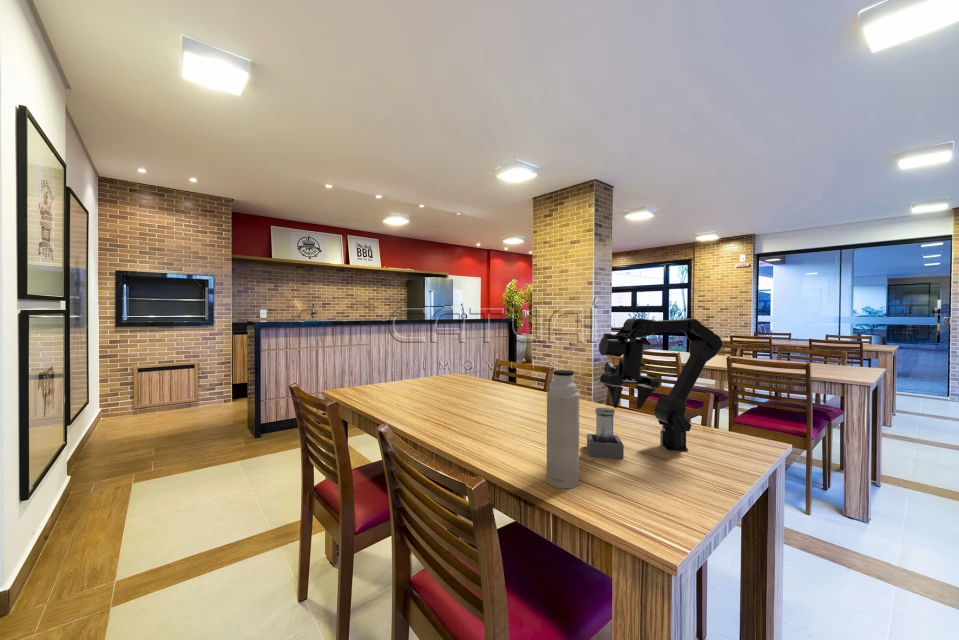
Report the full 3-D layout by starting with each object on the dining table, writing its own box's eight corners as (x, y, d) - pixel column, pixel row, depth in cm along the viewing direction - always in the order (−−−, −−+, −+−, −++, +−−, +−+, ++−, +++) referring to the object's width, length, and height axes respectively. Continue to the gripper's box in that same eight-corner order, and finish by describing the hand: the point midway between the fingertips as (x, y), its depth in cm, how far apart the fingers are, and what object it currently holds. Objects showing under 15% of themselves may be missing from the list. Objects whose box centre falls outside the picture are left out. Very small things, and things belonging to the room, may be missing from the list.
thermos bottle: (540, 482, 95) (541, 371, 95) (555, 472, 102) (556, 367, 101) (570, 491, 90) (570, 374, 90) (584, 480, 96) (584, 370, 96)
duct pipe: (617, 452, 116) (618, 410, 116) (607, 456, 113) (607, 413, 113) (601, 447, 121) (602, 406, 121) (591, 451, 117) (591, 409, 117)
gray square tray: (617, 447, 121) (617, 435, 121) (623, 458, 111) (623, 445, 111) (586, 445, 122) (587, 433, 122) (590, 456, 113) (590, 443, 113)
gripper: (636, 357, 129) (631, 402, 129) (591, 353, 123) (586, 401, 123) (663, 361, 119) (657, 411, 119) (615, 357, 113) (609, 410, 112)
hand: (627, 408), depth 119 cm, fingers open, 9 cm apart
